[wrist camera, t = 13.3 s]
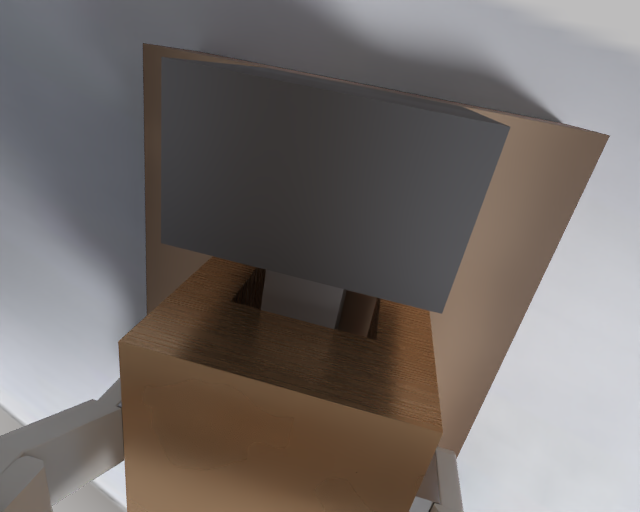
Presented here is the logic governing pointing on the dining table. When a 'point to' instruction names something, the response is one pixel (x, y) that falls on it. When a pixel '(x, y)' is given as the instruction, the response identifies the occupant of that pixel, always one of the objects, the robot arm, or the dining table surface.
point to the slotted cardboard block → (274, 404)
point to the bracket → (359, 203)
